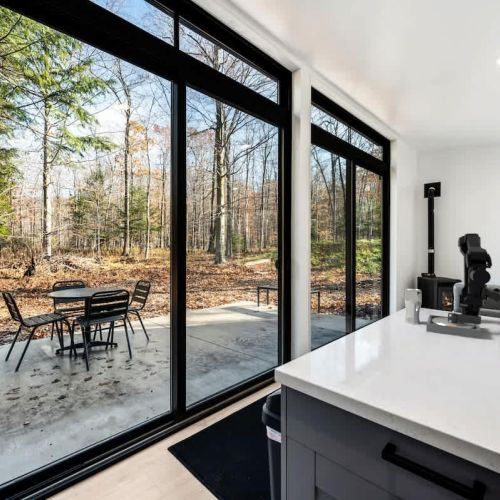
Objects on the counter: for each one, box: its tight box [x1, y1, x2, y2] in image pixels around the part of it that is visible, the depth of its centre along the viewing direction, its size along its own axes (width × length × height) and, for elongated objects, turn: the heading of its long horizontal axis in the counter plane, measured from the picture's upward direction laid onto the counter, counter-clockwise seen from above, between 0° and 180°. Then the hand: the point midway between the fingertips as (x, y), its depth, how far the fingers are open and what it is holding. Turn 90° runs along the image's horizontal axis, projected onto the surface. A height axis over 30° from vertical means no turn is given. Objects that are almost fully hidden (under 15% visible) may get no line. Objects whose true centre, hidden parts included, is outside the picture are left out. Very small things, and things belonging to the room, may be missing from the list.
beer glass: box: [403, 288, 423, 325], centre depth 145 cm, size 7×7×15 cm
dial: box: [432, 312, 482, 329], centre depth 132 cm, size 17×15×5 cm
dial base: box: [425, 314, 482, 340], centre depth 133 cm, size 18×18×4 cm
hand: (475, 319), depth 131 cm, fingers closed
